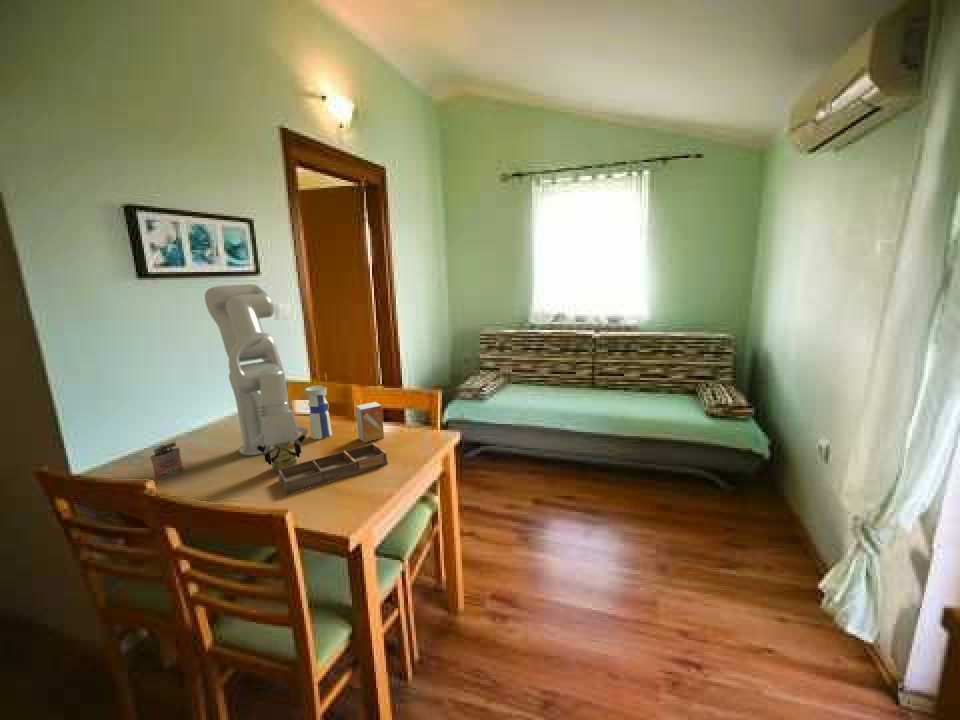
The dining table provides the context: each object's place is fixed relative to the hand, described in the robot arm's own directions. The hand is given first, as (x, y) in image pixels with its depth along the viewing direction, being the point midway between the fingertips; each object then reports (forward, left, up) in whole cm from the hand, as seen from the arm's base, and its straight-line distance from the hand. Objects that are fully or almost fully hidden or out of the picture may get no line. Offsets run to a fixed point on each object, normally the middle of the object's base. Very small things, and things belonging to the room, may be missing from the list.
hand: (283, 459), depth 141 cm
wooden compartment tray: (+14, +12, -3) cm, 19 cm away
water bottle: (-22, +18, -3) cm, 29 cm away
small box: (-6, +32, -3) cm, 33 cm away
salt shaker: (0, 0, -3) cm, 3 cm away
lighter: (-21, -31, -3) cm, 38 cm away
